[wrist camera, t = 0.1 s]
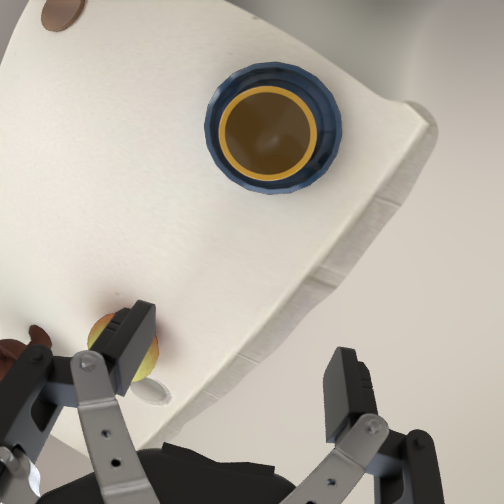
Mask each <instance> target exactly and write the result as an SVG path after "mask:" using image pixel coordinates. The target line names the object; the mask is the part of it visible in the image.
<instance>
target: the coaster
mask: <svg viewBox="0 0 504 504" xmlns="http://www.w3.org/2000/svg"><path fill="white" fill-rule="evenodd" d="M84 2H85V0H47V1H46V3H45V5H44V7H43V10H42V14H41V22H42V25H43V27H44V28H45V29H46V30H49V31H53V32H58V31H61V30H64V29H66V28H67V27H69V26H70V25H71V24H72V23H73V22H74V21H75V20H76V19H77V17H78V16H79V14H80V13H81V11H82V9H83V6H84Z"/></svg>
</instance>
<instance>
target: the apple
mask: <svg viewBox="0 0 504 504" xmlns="http://www.w3.org/2000/svg"><path fill="white" fill-rule="evenodd" d="M114 315H115V313H112V314H108V315H105V316H104V317H102V318H101V319H99V320H98V321H97V322H96V323H95V324H94V326H93V327H92V329H91V331H90V333H89V336H88V343H87V344H88V350H89V349H90V347H91V346H92V345H93V343H94V342H95V340H96V339H97V338H98V336H99V335H100V333H101V332H102V331H103V329H104V328H106V325H107V324H108V323H109V322H110V320H111V319H112V317H113V316H114ZM158 356H159V349H158V343H157V338H156V336H155V335H154V339H153V342H152V344H151V346H150V348H149V350H148V352H147V353H146V355H145V357H144V359H143V361H142V363H141V365H140V367H139V369H138V370H137V372H136V374H135V376H134V378H133V380H132V382H135V381H139V380H141V379H143V378H145V377H146V376H147V375H149V374H150V373H151V372H152V370H153V369H154V367H155V364H156V361H157V359H158Z"/></svg>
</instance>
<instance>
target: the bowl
mask: <svg viewBox="0 0 504 504" xmlns="http://www.w3.org/2000/svg"><path fill="white" fill-rule="evenodd" d="M260 86H274V87H279V88H283V89H286V90H288V91H290V92H292V93H294V94H295V95H297V96H298V97H299V98H301V99H302V100H303V101H304V102H305V104H306V105H307V106H308V108H309V109H310V111H311V113H312V114H313V117H314V119H315V123H316V129H317V140H316V145H315V148H314V151H313V153H312V155H311V157H310V159H309V160H308V162H307V163H306V164H305V165H304V166H303V167H302V168H301V169H300V170H299V171H297V172H296V173H295V174H293V175H291V176H289V177H286V178H283V179H280V180H274V181H263V180H257V179H253V178H250V177H248V176H246V175H244V174H242V173H240V172H239V171H238V170H236V169H235V168H234V167H233V166H232V165H231V164H230V163H229V161H228V160H227V159H226V157H225V155H224V153H223V151H222V149H221V145H220V141H219V124H220V120H221V117H222V115H223V112H224V111H225V109H226V107H227V106H228V105H229V103H230V102H231V101H232V100H233V99H234V98H235V97H237V96H238V95H239V94H241V93H242V92H244V91H246V90H249V89H251V88H255V87H260ZM204 130H205V137H206V144H207V148H208V150H209V152H210V154H211V156H212V158H213V160H214V162H215V164H216V166H217V167H218V168H219V169H220V170H221V171H222V172H223V173H224V174H225V175H226V176H227V177H228V178H229V179H230V180H231V181H233V182H235V183H237V184H238V185H240V186H242V187H244V188H245V189H247V190H250V191H254V192H259V193H263V194H268V195H273V194H286V193H292V192H294V191H297V190H300V189H302V188H305V187H307V186H309V185H311V184H312V183H313V182H315V181H316V180H317V179H318V178H320V177H321V176H322V175H323V174H325V172H326V171H327V170H328V168H329V167H330V165H331V164H332V162H333V161H334V159H335V157H336V156H337V153H338V149H339V145H340V142H341V138H342V125H341V114H340V111H339V109H338V107H337V104H336V102H335V100H334V97H333V95H332V93H331V92H330V91H329V90H328V89H327V88H326V87H325V85H324V84H323V83H322V82H321V81H320V80H319V79H318V78H317V77H316V76H314V75H312V74H311V73H309V72H307V71H305V70H304V69H302V68H300V67H298V66H295V65H290V64H285V63H280V62H267V63H258V64H252V65H250V66H248V67H246V68H243V69H241V70H239V71H237V72H235V73H233V74H232V75H231V76H230V77H229V78H227V79H226V80H225V81H224V82H223V83H222V84H221V85H220V86H219V87H218V88H217V90H216V92H215V93H214V95H213V97H212V99H211V100H210V102H209V104H208V107H207V112H206V117H205V123H204Z"/></svg>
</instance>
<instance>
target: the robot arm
mask: <svg viewBox="0 0 504 504" xmlns="http://www.w3.org/2000/svg"><path fill="white" fill-rule="evenodd" d="M155 310H156V307H155V304H153V303H149V302H146V301H142V300H138V301H137V302H136V303H135V304H134V306H133V307H132V309H129V308H123V309H122V310H120V311H118V312H116V313H115V315H114V316H113V317H112V319H111V320H110V322H109V323H108V324H107V325H106V328H104V329H103V331H102V332H101V333H100V335H99V336H98V338H97V339H96V340H95V342H94V343H93V345H92V346H91V347H90V349H89V350H85V351H81V352H78V353H77V354H75V355H74V356H73V357H61V356H53V354H52V351H51V349H50V348H49V347H47V346H46V345H43V344H33V345H30V346H28V347H27V348H25V349H24V351H23V352H22V353H21V354H20V356H19V357H18V358H17V360H16V361H15V362H14V364H13V365H12V367H11V368H10V369H9V371H8V372H7V373H6V375H5V376H4V378H3V379H2V380H1V382H0V504H341V503H342V502H343V500H344V499H345V498H346V497H347V496H348V494H349V493H350V492H351V491H352V489H353V488H354V487H355V485H356V484H357V483H358V481H359V480H360V479H361V477H362V476H363V475H364V473H368V474H372V475H374V498H375V504H445V503H444V497H443V489H442V484H441V477H440V472H439V467H438V461H437V456H436V451H435V446H434V442H433V439H432V438H431V436H430V435H429V434H428V433H427V432H425V431H423V430H418V429H416V430H412V431H410V432H409V433H408V434H407V435H404V434H402V433H399V432H396V431H393V430H390V429H389V427H388V424H387V422H386V421H385V420H384V419H383V418H382V417H380V416H379V415H378V411H377V406H376V401H375V396H374V391H373V389H372V388H373V386H372V382H371V377H370V373H369V370H368V368H367V367H366V366H365V364H364V363H363V362H360V361H358V360H357V356H356V351H355V350H354V349H351V348H345V347H337V348H336V350H335V352H334V354H333V356H332V358H331V360H330V362H329V364H328V366H327V368H326V370H325V373H324V378H323V392H324V408H325V427H326V443H335V448H334V449H333V450H332V451H331V452H330V453H329V454H328V455H327V457H326V458H325V459H324V460H323V461H322V462H321V463H320V464H319V465H318V466H317V467H316V468H315V470H314V471H313V472H312V473H310V475H309V476H308V477H307V478H306V479H305V480H304V481H303V482H302V483H301V484H300V485H299V486H298V487H296V486H295V485H294V484H292V483H291V482H290V481H288V480H287V479H285V478H284V477H282V476H279V475H278V474H275V473H274V470H275V466H269V465H263V464H256V463H250V462H234V463H233V462H231V463H220V462H215V461H213V460H211V459H209V458H207V457H205V456H203V455H201V454H199V453H197V452H195V451H192V450H190V449H187V448H182V447H179V446H176V445H172V444H169V443H165V442H164V443H163V446H162V449H161V448H150V449H143V450H139V451H136V450H135V448H134V445H133V443H132V440H131V438H130V435H129V432H128V429H127V427H126V424H125V421H124V418H123V415H122V413H121V410H120V407H119V404H118V401H117V399H116V398H115V395H116V394H118V395H120V396H123V397H124V396H125V394H126V392H127V390H128V388H129V386H130V384H131V382H132V380H133V378H134V376H135V374H136V372H137V370H138V369H139V367H140V365H141V363H142V361H143V359H144V357H145V355H146V353H147V352H148V350H149V348H150V346H151V344H152V342H153V339H154V334H155ZM64 406H67V407H75V408H77V409H78V414H79V418H80V423H81V427H82V431H83V435H84V438H85V442H86V446H87V449H88V453H89V456H90V460H91V463H92V466H93V469H94V472H92V473H90V474H88V475H86V476H84V477H81V478H79V479H77V480H75V481H72V482H70V483H68V484H66V485H63V486H61V487H59V488H56V489H54V490H51V491H49V492H47V493H45V494H44V495H42V496H40V494H39V483H40V474H39V471H38V469H37V468H36V467H35V462H36V460H37V458H38V456H39V454H40V452H41V450H42V448H43V446H44V443H45V441H46V439H47V438H48V435H49V434H50V432H51V430H52V428H53V426H54V424H55V422H56V420H57V418H58V416H59V414H60V412H61V410H62V409H63V407H64Z"/></svg>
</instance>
